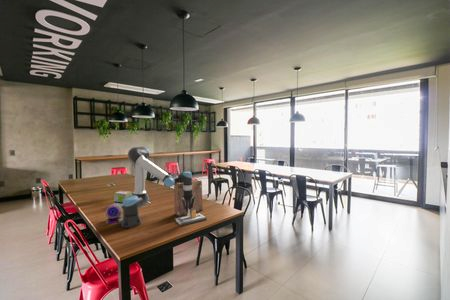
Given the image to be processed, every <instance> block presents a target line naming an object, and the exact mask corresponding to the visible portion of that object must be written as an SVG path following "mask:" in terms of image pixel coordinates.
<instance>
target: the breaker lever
mask: <svg viewBox="0 0 450 300" xmlns="http://www.w3.org/2000/svg"><path fill="white" fill-rule="evenodd" d="M196 213H197V212H196V210H195V209H191V212H190V217H191V218H194V217H196Z"/></svg>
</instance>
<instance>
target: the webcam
mask: <svg viewBox="0 0 450 300" xmlns="http://www.w3.org/2000/svg"><path fill="white" fill-rule="evenodd" d="M121 215H123V207H121V206H120V205H118V204H114V203H112V204H109V206H107V208H106V209H105V216H106V217H107V219H106V220H105V223H106V224H115V223H120V222H122V220H123V216H121Z"/></svg>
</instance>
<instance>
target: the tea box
mask: <svg viewBox="0 0 450 300" xmlns="http://www.w3.org/2000/svg"><path fill="white" fill-rule="evenodd" d="M130 195H133V192H132V191H126V190H119V191H116V192H113V199H114V200H113V202H114V203H113V204H118V205H120V206H121V207H122V208H123V199H124V198H125V197H127V196H130Z"/></svg>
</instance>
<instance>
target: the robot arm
mask: <svg viewBox="0 0 450 300" xmlns="http://www.w3.org/2000/svg"><path fill="white" fill-rule="evenodd" d="M150 155H151V152H150V150H149V149H148V147H145V146H136V147H135V146H134V147H131V148H130V149H129V150H128V152H127V157H128V159H129V160H130V162H131V163H133V164H135V168H134V169H135V170H134V190H133V192H132V195H130V196H127V197H125V198H124V199H123V207H122V215H123V216H122V218H123V220H122V221H121V228H124V229H131V228H136V227H138V226H140V225H141V224H142V219H141V217H140V215H139V209H140V208H142V207H144V206H146V205H147V204H148V202H149V195H148V194H147V190H146V171H147V172H148V173H150V174H151V175H152V176H154V177H156V178H157V179H158V180H160V181H161V182H163V185H164V186H165V187H166V188H170V187H174V185H175V184H176V183H183V189H184V190H183V192H184V196H183V198H181V200H182V203H183V207H184V209H186V213H187V216H188V217H190V212H191V208H193V204H194V199H195V197H194V196H193V195H192V180H193V175H192V172H191V171H182V173H180V174H179V173H172V174H169V173H168V172H166V171H164V170H163V169H162V168H161V167H159V166H158V165H156V164H155V163H154V162H152V161H151V160H149V158H150ZM191 198H192V201H191ZM184 199H185V201H186V206H185V202H184ZM188 205H189V209H188Z"/></svg>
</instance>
